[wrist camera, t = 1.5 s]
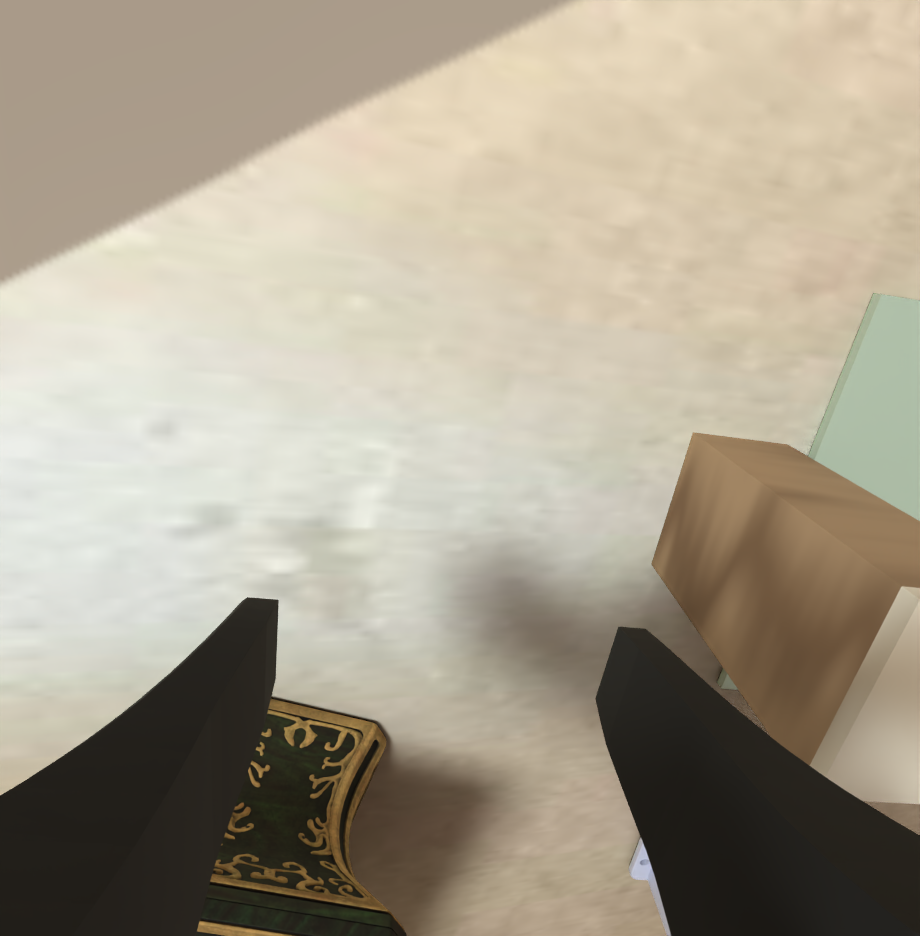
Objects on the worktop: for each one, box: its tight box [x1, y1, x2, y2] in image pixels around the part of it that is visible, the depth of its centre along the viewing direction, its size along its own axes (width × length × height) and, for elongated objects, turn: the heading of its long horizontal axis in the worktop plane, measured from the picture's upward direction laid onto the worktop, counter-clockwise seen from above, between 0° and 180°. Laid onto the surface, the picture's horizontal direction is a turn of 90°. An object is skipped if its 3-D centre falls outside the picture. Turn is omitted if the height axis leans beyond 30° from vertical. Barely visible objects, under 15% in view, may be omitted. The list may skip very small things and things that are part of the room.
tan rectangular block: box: [652, 433, 920, 804], centre depth 19 cm, size 6×4×11 cm, turn 172°
